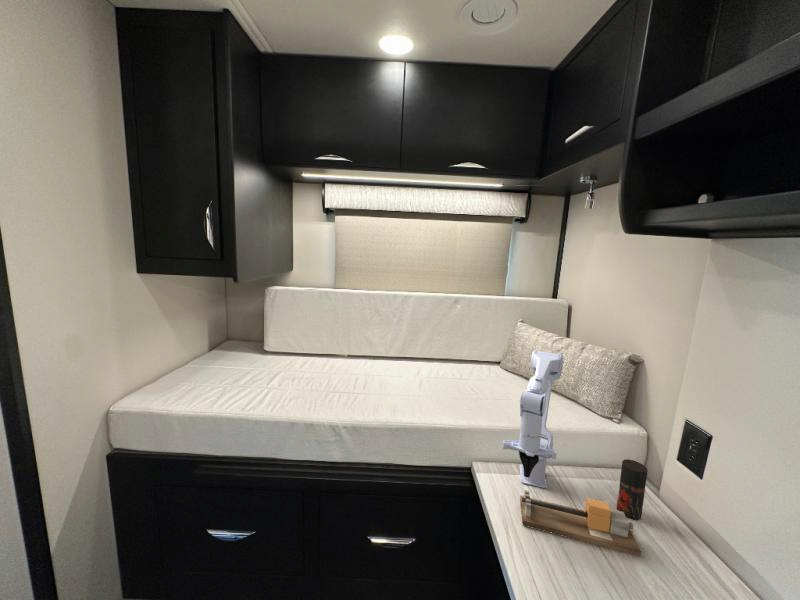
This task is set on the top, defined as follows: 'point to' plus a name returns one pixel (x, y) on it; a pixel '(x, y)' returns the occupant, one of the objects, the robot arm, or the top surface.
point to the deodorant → (632, 489)
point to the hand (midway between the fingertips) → (526, 475)
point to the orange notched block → (597, 515)
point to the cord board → (578, 524)
